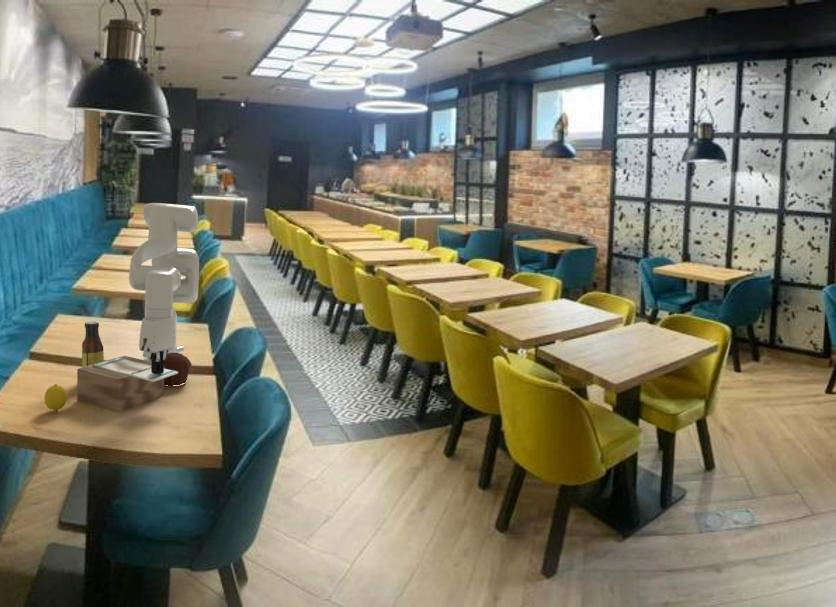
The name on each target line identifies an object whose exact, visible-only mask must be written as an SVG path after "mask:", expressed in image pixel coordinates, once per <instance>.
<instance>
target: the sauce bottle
mask: <svg viewBox="0 0 836 607" xmlns="http://www.w3.org/2000/svg"><path fill="white" fill-rule="evenodd" d="M99 327H100V323H99V321H96V320H94V321H93V320H91V321H86V322H84V328H85V334H84V335H85V338H84V340H83V341H82V344H81V349H82V350H81V357H82V359H81V360H82V361H81V363H82V367H86V366H89V365H93V364H96V363H100V362H104V361H105V356H104V354H105V353H104V345H103V343H102V339H101V337H100V333H99ZM82 367H81V368H82Z"/></svg>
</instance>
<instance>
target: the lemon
mask: <svg viewBox="0 0 836 607" xmlns="http://www.w3.org/2000/svg"><path fill="white" fill-rule="evenodd" d="M67 401H68V395H67V391H66V389H65V388H64V387H63V386H61V385H58V384H53V385H51V386H50V387H48V388H47V389H46V391H45V393H44V403H45V406H46V407H47V408H48V409H50V410H52V411H54V412H58V411H59V410H60V409H62V408H63V407H65V405H66V403H67Z"/></svg>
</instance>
